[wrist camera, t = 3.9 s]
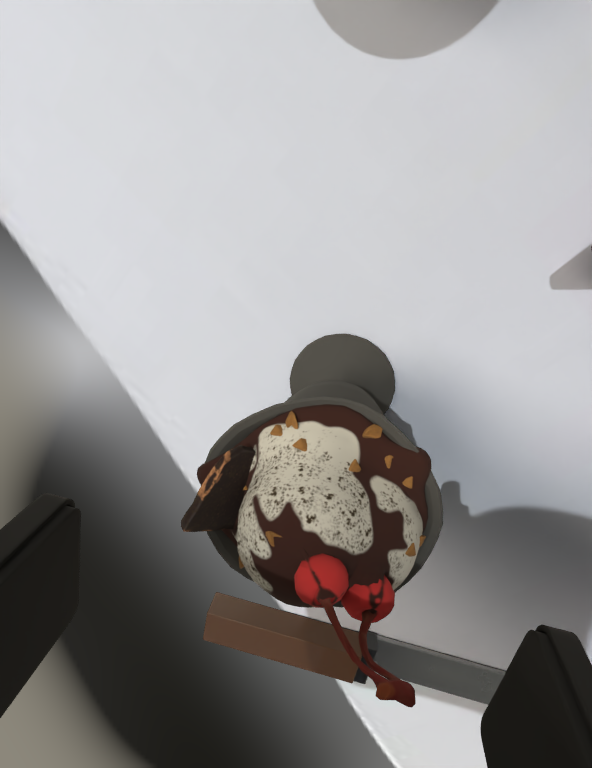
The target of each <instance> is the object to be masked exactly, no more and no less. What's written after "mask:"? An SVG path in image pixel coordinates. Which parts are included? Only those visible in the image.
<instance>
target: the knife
mask: <svg viewBox="0 0 592 768" xmlns="http://www.w3.org/2000/svg"><path fill="white" fill-rule="evenodd" d="M342 629H343V631H344V633H345V635H346V637H347V639H348V641H349V642H350V644H351V646H352V647H353V649H354V651H355V652H356V654H357V656H358V657H359V659H360V661H361V662H363V663H364V664H365V665H366V666H367V667H368V668H370V667H369V666H368V665H367V663H366V660H365V659H364V657H363V655H362V652H361V648H360V645H359V638H358V636H359V632H355V631H352V630H348V629H345V628H342ZM203 640H206V641H210V642H213V643H216V644H220V645H223V646H227V647H230V648H233V649H237V650H240V651H244V652H247V653H251V654H254V655H257V656H261V657H264V658H267V659H271V660H274V661H278V662H281V663H285V664H288V665H292V666H295V667H299V668H302V669H305V670H309V671H312V672H315V673H319V674H322V675H325V676H329V677H332V678H336V679H339V680H342V681H346V682H349V683H353V681H356V682H359V683H362V684H365V683H366V680H367V677H368V676H367V675H366V674H365V673H363V672H362V671H361V670H360V668H359V667H358V666H357V665H356V664H355V663H354V662H353V661H352V660H351V658H350V657H349V655H348V653H347V652H346V650H345V648H344V646H343V645H342V643H341V641H340V640H339V638H338V636H337V634H336V631H335V629H334V627H333V625H331V624H327V623H324V622H320V621H317V620H313V619H310V618H306V617H303V616H299V615H296V614H292V613H289V612H285V611H281V610H278V609H274V608H271V607H267V606H264V605H260V604H257V603H253V602H249V601H246V600H243V599H239V598H236V597H232V596H229V595H225V594H222V593H218V592H216V593H215V596H214V598H213V601H212V603H211V605H210V608H209V610H208V612H207V618H206V624H205V630H204V637H203ZM367 646H368V652H369V653H370V655H371V657H372V659H373V661H374V662H375V663H376V664H377V665H379V666H381V667H382V668H384V669H385V670H387V671H388V672H390V673H391V674H393V675H394V676H396V677H397V678H399V679H402V680H405V681H409V682H412V683H415V684H419V685H422V686H426V687H429V688H433V689H436V690H440V691H443V692H446V693H450V694H453V695H457V696H460V697H464V698H467V699H471V700H474V701H477V702H481V703H484V704H488V705H489V703H490V701H491V699H492V697H493V695H494V694H495V692H496V690H497V688H498V686H499V684H500V682H501V680H502V679H503V677H504V675H505V673H506V671H503V670H499V669H495V668H492V667H488V666H485V665H481V664H478V663H474V662H471V661H467V660H464V659H460V658H457V657H453V656H450V655H446V654H443V653H439V652H436V651H432V650H429V649H425V648H421V647H418V646H414V645H411V644H407V643H404V642H400V641H397V640H393V639H390V638H386V637H383V636H379V635H377V634H376V633H373V632H369V631H368V632H367ZM370 669H371V668H370ZM371 670H372V669H371ZM372 671H374V670H372ZM374 672H375V671H374Z"/></svg>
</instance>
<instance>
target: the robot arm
mask: <svg viewBox="0 0 592 768" xmlns="http://www.w3.org/2000/svg"><path fill="white" fill-rule="evenodd" d="M80 522H81V513H80V510H79V509H77V508H75V503H74V501H73V500H71V499H68V498H64V497H60V496H57V495H53V494H49V493H44V494H42V495H40V496H39V497H38V498H37V499H35V500H34V501H33V502H32V503H31V504H30V505H28V506H27V507H26V508H25V509H24V510H23V511H21V512H20V513H19V514H18V515H17V516H16V517H14V518H13V519H12V520H11V521H10V522H9V523H7V524H6V525H5V526H4V527H3V528H2V529H1V530H0V718H1V716H2V715H3V714H4V712H5V711H6V710H7V708H8V707H9V706H10V704H11V703H12V701H13V700H14V699H15V697H16V696H17V695H18V693H19V692H20V690H21V689H22V688H23V686H24V685H25V684H26V682H27V681H28V679H29V678H30V677H31V675H32V674H33V673H34V671H35V670H36V668H37V667H38V666H39V664H40V663H41V661H42V660H43V659H44V657H45V656H46V655H47V653H48V652H49V651H50V649H51V648H52V646H53V645H54V644H55V642H56V641H57V640H58V638H59V637H60V635H61V634H62V632H63V631H64V630H65V629H66V627H67V626H68V624H69V623H70V621H71V620H72V618H73V617H74V615H75V613H76V610H77V607H78V602H79V567H80V524H81V523H80ZM481 738H482V743H483V748H484V753H485V757H486V762H487V767H488V768H592V665H591V663H590V661H589V659H588V657H587V655H586V653H585V651H584V648H583V646H582V644H581V642H580V640H579V639H578V637H577V636H576V635H575V634H574V633H572V632H568V631H565V630H561V629H557V628H553V627H550V626H546V625H540V626H538V627H537V629H536V630H535V631H534V630H530V631H528V632H527V634H526V635H525V637H524V639H523V641H522V643H521V645H520V647H519V649H518V650H517V652H516V654H515V656H514V658H513V660H512V662H511V664H510V665H509V667H508V669H507V671H506V673H505V675H504V677H503V679H502V680H501V682H500V684H499V686H498V688H497V690H496V692H495V694H494V695H493V697H492V699H491V701H490V703H489V705H488V707H487V709H486V710H485V712H484V714H483V717H482V720H481Z"/></svg>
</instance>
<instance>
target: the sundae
mask: <svg viewBox="0 0 592 768" xmlns="http://www.w3.org/2000/svg"><path fill="white" fill-rule="evenodd" d="M290 388H291V393H292V396H291V397H290V398H289V399H288V400H287V401H286V402H284V403H280V404H276V405H273V406H271V407H268V408H266V409H264V410H261V411H259V412H257V413H254V414H252V415H250V416H249V417H247V418H245V419H243V420H241V421H240V422H238V423H236V424H234V425H233V426H232V427H231V428H230V429H229V430H228V431H226V432H225V433H224V434H223V435H222V436H221V437H220V438H219V439H218V441H217V442H216V443H215V444H214V446H213V447H212V448H211V449H210V452H209V454H208V457H207V459H206V461H205V463H204V464H202V465H201V466H200V467H199V468H198V470H197V477H198V480H199V482H200V484H201V488H200V489H199V491H198V493H197V495H196V498H195V500H194V502H193V504H192V505H191V507H190V508H189V509H188V511H187V512H186V514H185V515H184V517H183V519H182V520H181V527H182V529H183V531H186V532H197V531H207V534H208V536H209V537H210V539H211V541H212V542H213V544H214V546H215V547H216V549H217V551H218V553H219V554H220V555H221V556H222V557H223V559H224V560H225V561H226V562H227V563H228V564H229V566H230V567H231V568H233V569H234V570H236V571H237V572H239V573H240V574H242V575H243V576H245V577H246V578H248V579H250V580H252V581H254V582H255V583H257V584H258V585H259V586H260V587H261V588H262V589H264V590H265V591H266V592H268V593H269V594H270V595H272V596H273V597H275V598H276V599H278V600H280V601H282V602H284V603H286V604H288V605H293V606H297V607H321V608H324V609H325V611H326V613H327V615H328V617H329V620H330V622H331V623H332V625H333V627H334V629H335V631H336V634H337V636H338V638H339V640H340V641H341V643H342V645H343V646H344V648H345V650H346V652H347V653H348V655H349V657H350V658H351V660H352V661H353V662H354V663H355V664H356V665H357V666H358V667H359V668H360V670H361V671H362V672H363V673H365V674H366V675H367V676H369V677H370V678H371V679H372V680H373V681H374V683H375V684H376V687H377V692H376V696H377V697H378V698H379V699H380V700H396V701H398V702H400V703H402V704H404V705H406V706H408V707H413V706H414V705H415V690H414V688H413V687H412V685H411V684H409V683H408V682H405V681H402V680H400V679H399V678H397V677H396V676H394V675H393V674H391V673H390V672H388V671H387V670H385V669H384V668H382V667H381V666H379V665H377V664H376V663H375V662H374V661H373V659H372V657H371V655H370V653H369V652H368V646H367V632H368V630H369V627H370V625H371V623H374V622H378V621H379V620H381V619H383V618H385V617H386V616H387V615H388V614H389V613H390V612H391V611H392V609H393V607H394V598H395V592H396V591H397V590H399V589H400V588H401V587H402V586H404V585H405V584H406V583H408V582H409V581H410V580H411V579H412V577H413V576H414V575H415V574H416V573H417V572H418V571H419V570H420V569H421V568H422V566H423V565H424V563H425V561H426V560H427V558H428V557H429V555H430V554H431V552H432V550H433V548H434V546H435V544H436V541H437V539H438V537H439V534H440V531H441V528H442V524H443V507H442V500H441V493H440V489H439V487H438V485H437V482H436V480H435V478H434V476H433V474H432V472H431V459H430V456H429V455H428V454H427V452H426V451H425V450H423V449H421V448H419V447H415V446H414V445H413V443H412V442H411V441H410V440H409V439H408V438H407V437H406V436H405V435H404V434H403V433H402V432H401V431H400V430H399V429H398V428H397V427H396V426H394V425H393V424H392V423H391V422H390V421H389V420H388V419H386V417H385V416H384V413H385V412H386V411H387V410H388V408H389V406H390V404H391V401H392V399H393V395H394V392H395V379H394V371H393V369H392V367H391V365H390V362H389V361H388V359H387V357H386V356H385V354H384V353H383V352H382V351H381V350H380V349H379V348H378V347H377V346H375V345H374V344H372V343H371V342H370V341H368V340H366V339H363V338H361V337H358V336H354V335H350V334H334V335H327V336H324V337H322V338H319V339H317V340H315V341H314V342H312V343H310V344H309V345H307V346H306V347H305V348H304V349H303V350H302V352H301V353H300V354H299V355H298V357H297V358H296V360H295V362H294V364H293V367H292V371H291V375H290ZM333 606H334V607H344V608H345V609H346V611H347V612H348V614H349V615H350V616H351V617H353V618H355V619H357V620H360V621H362V622H361V626H360V631H359V636H358V638H359V645H360V648H361V652H362V655H363V657H364V659H365V660H366V663H367V665H368V666H369V667H370V668H371V669H372V670H374V671H375V672H374V671H372V670H371V669H370V668H368V667H367V666H366V665H365V664H364V663H363V662H361V661H360V659H359V657H358V656H357V654H356V652H355V651H354V649H353V647H352V646H351V644H350V642H349V641H348V639H347V637H346V635H345V633H344V631H343V629H342V627H341V625H340V623H339V621H338V619H337V616H336V613H335V611H334V608H333ZM376 672H377V673H378V674H377V673H376ZM379 674H380V675H382V676H383V677H382V676H380V675H379ZM384 677H385V678H384ZM386 678H387V679H388V680H387V679H386Z"/></svg>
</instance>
